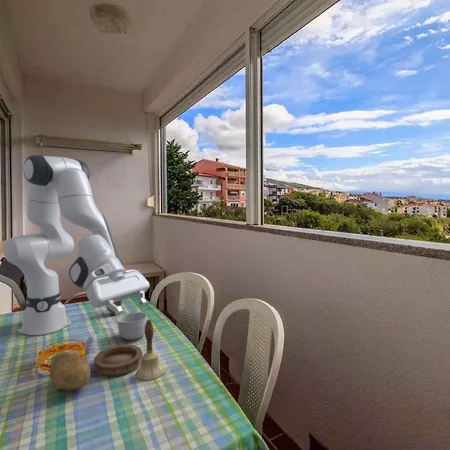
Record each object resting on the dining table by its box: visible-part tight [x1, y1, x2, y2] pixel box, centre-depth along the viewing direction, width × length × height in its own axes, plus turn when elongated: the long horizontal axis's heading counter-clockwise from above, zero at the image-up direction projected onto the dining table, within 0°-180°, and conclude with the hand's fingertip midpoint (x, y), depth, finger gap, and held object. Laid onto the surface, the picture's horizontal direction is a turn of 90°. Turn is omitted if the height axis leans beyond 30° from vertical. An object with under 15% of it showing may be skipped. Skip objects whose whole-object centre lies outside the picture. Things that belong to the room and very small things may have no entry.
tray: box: [93, 344, 143, 378], centre depth 94 cm, size 14×14×3 cm
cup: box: [105, 300, 123, 316], centre depth 138 cm, size 8×7×8 cm
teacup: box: [116, 310, 148, 341], centre depth 116 cm, size 14×11×8 cm
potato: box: [49, 352, 91, 391], centre depth 83 cm, size 10×14×8 cm
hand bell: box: [135, 319, 165, 381], centre depth 89 cm, size 8×8×16 cm
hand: (132, 308), depth 92 cm, fingers open, 8 cm apart
